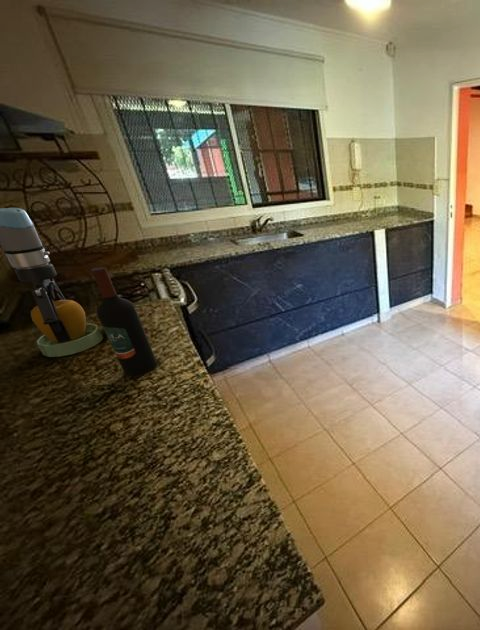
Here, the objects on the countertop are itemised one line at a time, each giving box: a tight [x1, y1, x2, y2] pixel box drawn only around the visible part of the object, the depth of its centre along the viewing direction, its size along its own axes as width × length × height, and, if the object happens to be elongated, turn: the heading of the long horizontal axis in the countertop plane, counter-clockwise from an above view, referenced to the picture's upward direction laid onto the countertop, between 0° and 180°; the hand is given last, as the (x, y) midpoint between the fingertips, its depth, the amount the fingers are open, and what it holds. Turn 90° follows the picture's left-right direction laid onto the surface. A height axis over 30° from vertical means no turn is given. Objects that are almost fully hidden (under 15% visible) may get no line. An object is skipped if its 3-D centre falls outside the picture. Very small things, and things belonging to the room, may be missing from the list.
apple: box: [30, 299, 87, 343], centre depth 104 cm, size 11×11×13 cm
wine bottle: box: [90, 266, 159, 377], centre depth 90 cm, size 8×8×30 cm
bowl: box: [36, 323, 104, 358], centre depth 107 cm, size 14×14×4 cm
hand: (67, 333), depth 106 cm, fingers closed on apple, 11 cm apart
